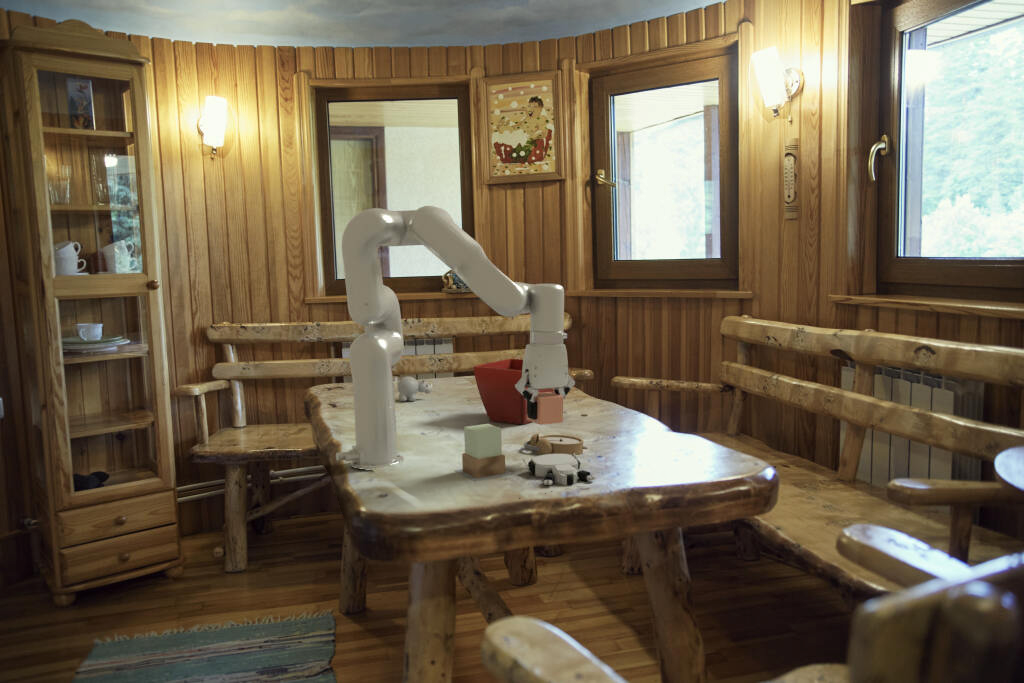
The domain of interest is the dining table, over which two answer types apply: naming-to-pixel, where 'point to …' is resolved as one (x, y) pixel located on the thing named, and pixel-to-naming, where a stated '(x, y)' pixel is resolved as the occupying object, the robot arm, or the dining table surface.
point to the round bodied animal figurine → (411, 388)
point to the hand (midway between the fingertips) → (545, 416)
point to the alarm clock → (555, 444)
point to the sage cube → (483, 441)
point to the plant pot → (503, 390)
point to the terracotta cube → (548, 408)
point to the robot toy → (558, 469)
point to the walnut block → (483, 465)
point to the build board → (481, 477)
